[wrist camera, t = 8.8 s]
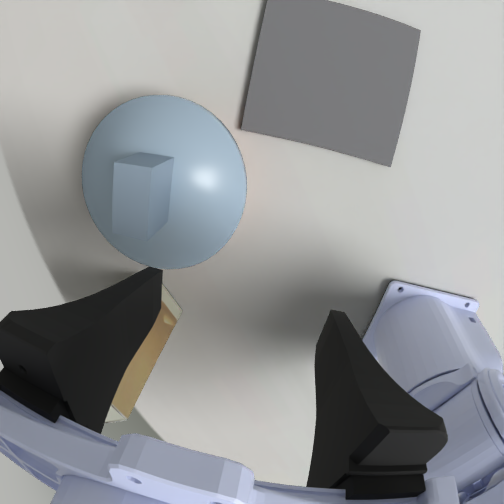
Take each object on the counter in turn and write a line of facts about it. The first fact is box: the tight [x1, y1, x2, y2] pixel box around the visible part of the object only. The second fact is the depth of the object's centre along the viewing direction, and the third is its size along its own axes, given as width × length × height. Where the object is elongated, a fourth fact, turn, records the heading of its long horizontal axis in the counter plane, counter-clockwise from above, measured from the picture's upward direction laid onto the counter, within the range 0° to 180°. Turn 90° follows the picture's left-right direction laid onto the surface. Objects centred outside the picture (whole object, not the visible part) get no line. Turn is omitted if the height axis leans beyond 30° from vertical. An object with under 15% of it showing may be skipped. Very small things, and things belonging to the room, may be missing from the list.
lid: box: [82, 95, 247, 269], centre depth 17 cm, size 11×11×4 cm
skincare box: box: [104, 284, 182, 424], centre depth 22 cm, size 6×4×12 cm
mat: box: [241, 0, 421, 167], centre depth 17 cm, size 10×10×1 cm
